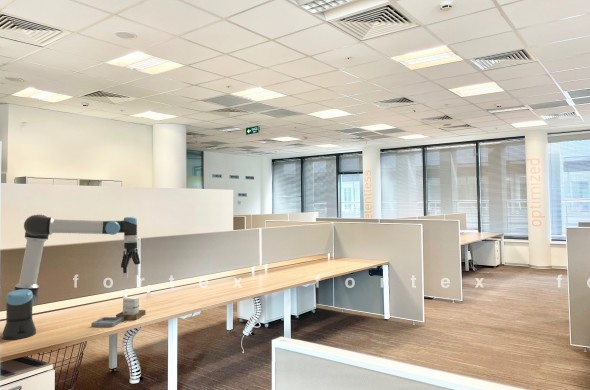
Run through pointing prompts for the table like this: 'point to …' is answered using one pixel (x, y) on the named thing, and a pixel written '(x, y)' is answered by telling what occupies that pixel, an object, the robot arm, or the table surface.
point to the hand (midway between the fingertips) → (130, 276)
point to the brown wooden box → (132, 317)
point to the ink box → (130, 306)
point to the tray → (107, 322)
